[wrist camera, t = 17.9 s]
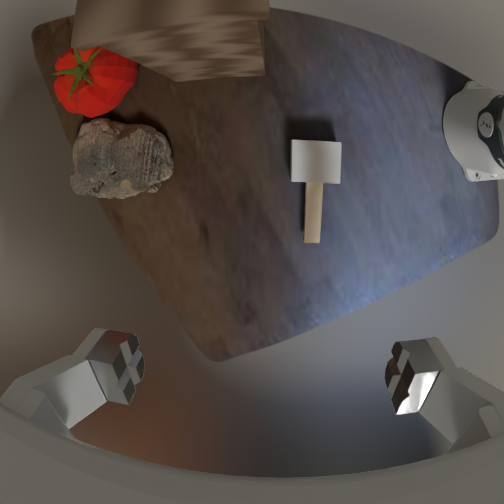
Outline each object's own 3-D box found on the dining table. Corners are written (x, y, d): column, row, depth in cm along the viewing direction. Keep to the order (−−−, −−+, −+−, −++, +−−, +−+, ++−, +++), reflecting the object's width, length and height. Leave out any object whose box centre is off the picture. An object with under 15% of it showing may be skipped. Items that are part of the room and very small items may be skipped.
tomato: (163, 65, 39) (131, 48, 28) (112, 133, 43) (72, 135, 33) (113, 32, 36) (77, 14, 25) (69, 96, 41) (27, 93, 30)
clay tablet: (186, 125, 43) (84, 116, 42) (177, 125, 38) (68, 117, 38) (173, 208, 48) (78, 190, 48) (164, 216, 44) (63, 197, 43)
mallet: (335, 142, 42) (341, 142, 38) (330, 237, 48) (335, 245, 44) (290, 139, 43) (292, 139, 39) (288, 236, 48) (289, 244, 45)
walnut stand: (271, 39, 36) (266, -56, 12) (272, 78, 39) (269, 9, 15) (170, 47, 38) (80, -16, 13) (170, 85, 40) (70, 47, 16)
